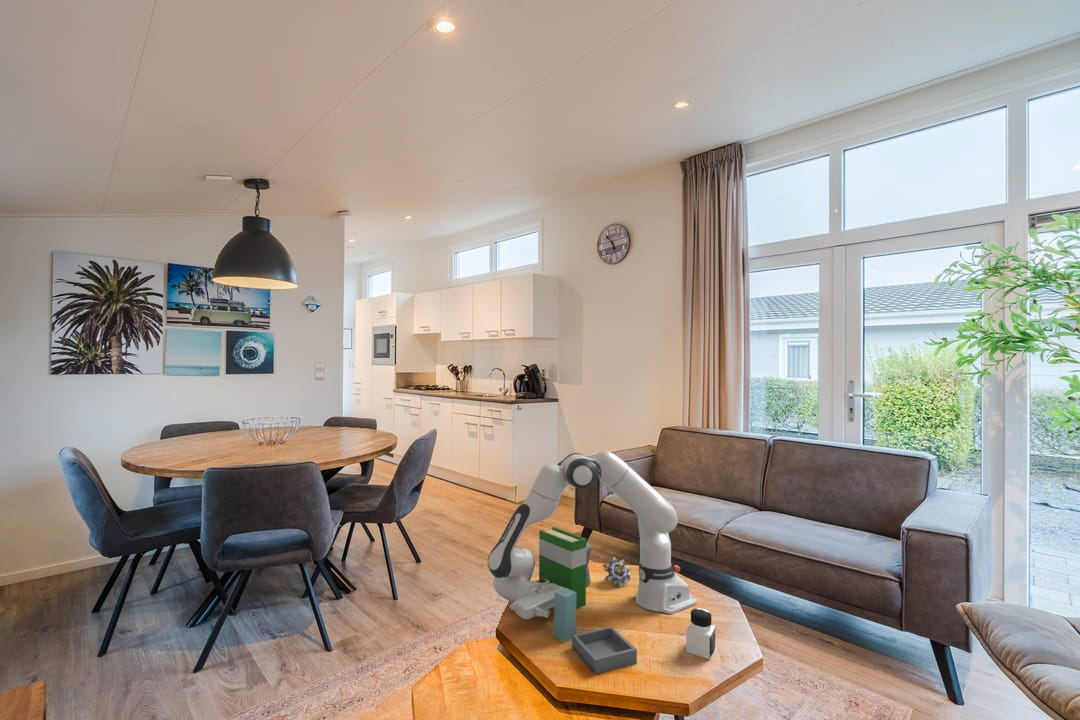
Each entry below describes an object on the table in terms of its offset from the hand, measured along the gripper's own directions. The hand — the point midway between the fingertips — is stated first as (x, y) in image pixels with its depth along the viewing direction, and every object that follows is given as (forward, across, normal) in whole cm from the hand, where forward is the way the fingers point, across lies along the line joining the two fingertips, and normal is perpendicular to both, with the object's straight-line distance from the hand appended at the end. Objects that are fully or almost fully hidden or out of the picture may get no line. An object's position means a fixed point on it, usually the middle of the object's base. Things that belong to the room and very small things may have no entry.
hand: (558, 609), depth 160 cm
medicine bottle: (+37, +24, +8) cm, 45 cm away
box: (+18, 0, +7) cm, 20 cm away
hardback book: (-15, +18, +8) cm, 24 cm away
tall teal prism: (+3, 0, +7) cm, 8 cm away
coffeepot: (-20, +34, +8) cm, 40 cm away
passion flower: (-9, +45, +8) cm, 46 cm away
